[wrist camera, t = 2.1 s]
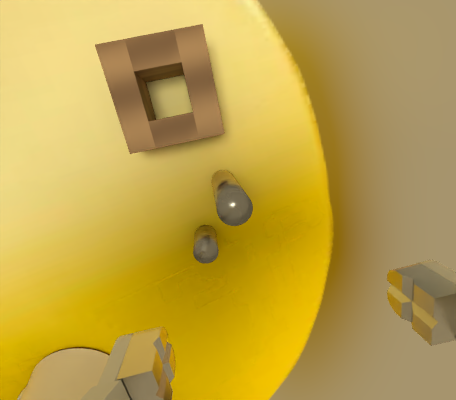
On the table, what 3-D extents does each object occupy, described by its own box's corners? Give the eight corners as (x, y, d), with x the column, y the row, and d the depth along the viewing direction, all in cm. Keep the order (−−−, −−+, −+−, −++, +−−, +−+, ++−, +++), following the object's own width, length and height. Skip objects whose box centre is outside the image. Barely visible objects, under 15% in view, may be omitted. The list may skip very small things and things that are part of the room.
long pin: (235, 189, 32) (255, 221, 20) (214, 194, 32) (221, 229, 20) (231, 167, 31) (249, 188, 19) (209, 172, 31) (213, 196, 19)
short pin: (218, 242, 34) (220, 260, 29) (197, 246, 33) (196, 265, 29) (213, 222, 33) (215, 238, 28) (192, 227, 33) (190, 244, 28)
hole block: (220, 133, 29) (224, 133, 25) (141, 150, 29) (130, 154, 24) (202, 43, 27) (202, 24, 22) (114, 60, 26) (94, 44, 21)
